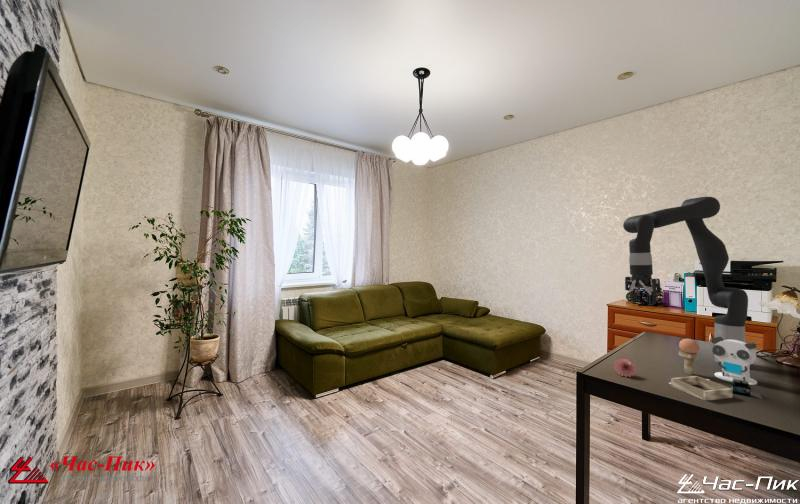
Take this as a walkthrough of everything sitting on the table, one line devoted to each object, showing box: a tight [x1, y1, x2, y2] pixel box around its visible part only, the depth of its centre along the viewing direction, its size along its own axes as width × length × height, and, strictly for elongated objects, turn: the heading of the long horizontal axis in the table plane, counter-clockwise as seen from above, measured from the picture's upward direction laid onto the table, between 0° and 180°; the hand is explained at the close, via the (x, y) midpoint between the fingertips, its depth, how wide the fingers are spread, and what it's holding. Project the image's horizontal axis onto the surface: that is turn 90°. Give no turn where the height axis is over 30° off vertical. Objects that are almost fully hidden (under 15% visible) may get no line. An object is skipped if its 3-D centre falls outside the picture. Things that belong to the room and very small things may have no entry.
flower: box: [613, 357, 638, 378], centre depth 127 cm, size 8×8×6 cm
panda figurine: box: [710, 336, 758, 386], centre depth 122 cm, size 12×11×15 cm
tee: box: [678, 350, 700, 376], centre depth 127 cm, size 4×4×9 cm
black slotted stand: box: [730, 379, 764, 400], centre depth 110 cm, size 12×7×5 cm, turn 50°
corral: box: [670, 375, 734, 401], centre depth 111 cm, size 11×11×3 cm
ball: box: [678, 338, 700, 354], centre depth 127 cm, size 6×6×6 cm
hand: (642, 302), depth 131 cm, fingers open, 8 cm apart
